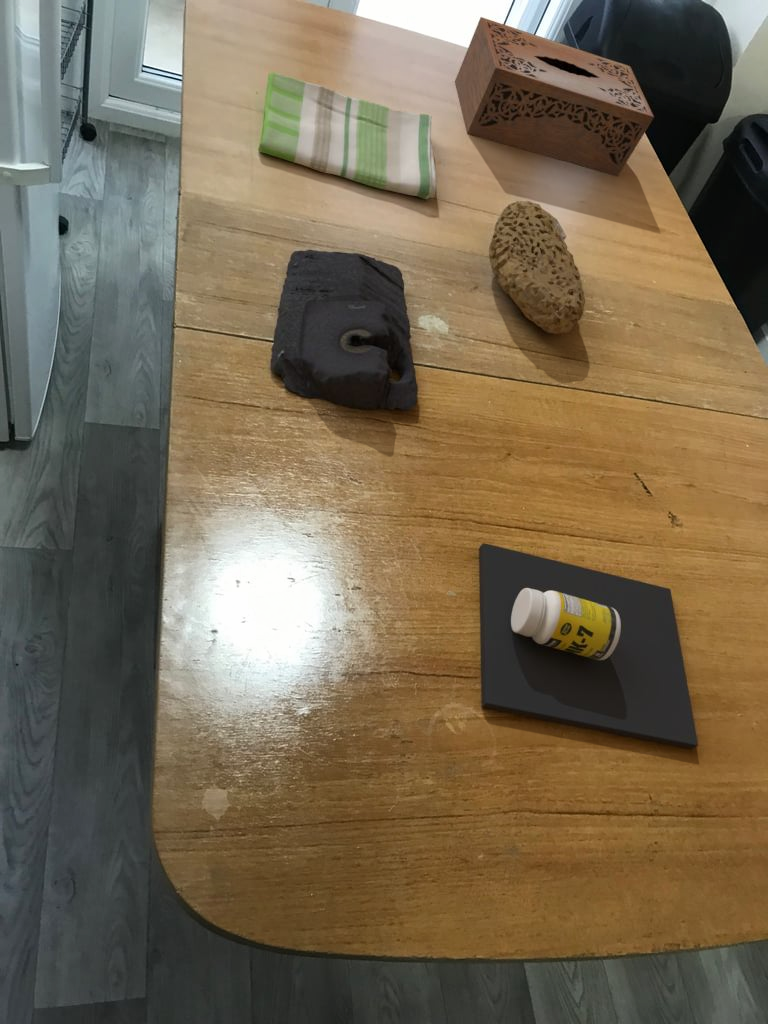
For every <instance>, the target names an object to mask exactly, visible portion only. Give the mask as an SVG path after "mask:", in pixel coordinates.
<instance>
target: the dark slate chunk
mask: <svg viewBox="0 0 768 1024" xmlns="http://www.w3.org/2000/svg"><path fill="white" fill-rule="evenodd" d="M289 259H290V260H289V262H288V263H287V265H286V266H287V267H286V277H285V278H284V283H283V285H282V291H281V294H280V299H279V306H278V308H277V313H278V314H277V319H276V325H275V328H274V333H273V343H272V345H271V348H270V349H271V356H270V357H271V358H270V366H269V367H270V370H271V371H272V372H273V373H274V374H275V375H277V376H279V377H281V378H282V381H283V384H284V388H285V389H286V390H287V391H288V392H291V393H296V394H297V395H299V396H301V397H306V398H308V399H313V398H318V399H323V400H325V401H329V402H331V403H332V404H337V405H340V406H342V407H347V408H353V409H359V410H364V411H372V410H375V409H378V408H379V409H381V410H383V409H384V410H388V409H391V410H395V408H398V409H400V410H407V411H412V410H413V409H414V407H415V406H416V405H417V403H418V391H419V387H418V382H417V377H416V369H415V363H414V359H413V354H412V350H411V342H410V340H411V338H412V334H411V324H410V323H411V322H410V319H409V316H408V312H407V311H408V306H407V304H406V295H405V282H404V278H403V273H402V271H401V270H400V268H398V266H395V265H393V264H391V263H387V262H385V261H384V260H383V261H382V260H377V259H376V258H375V257H371V256H368V255H366V254H361V253H359V252H342V251H327V250H314V249H306V250H302V249H301V250H295V251H293V252H292V253H291V254H290V257H289ZM392 372H396V374H397V375H398V377H399V381H396V380H392Z"/></svg>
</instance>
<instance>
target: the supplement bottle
mask: <svg viewBox="0 0 768 1024" xmlns="http://www.w3.org/2000/svg"><path fill="white" fill-rule="evenodd" d="M511 627H512V630H513V631H514V632H515V633H518V634H521V635H524V636H528V637H531V636H532V638H533V640H534V641H535V642H536V643H538V644H541V645H544V646H548V647H552V648H556V649H559V650H563V651H567V652H570V653H574V654H577V655H581V656H585V657H589V658H592V659H596V660H604V659H606V658H608V657H609V656H610V655H611V654H612V652H613V651H614V649H615V647H616V645H617V643H618V640H619V637H620V632H621V621H620V617H619V614H618V612H617V611H616V610H615V609H614V608H611V607H608V606H605V605H601V604H598V603H594V602H591V601H588V600H584V599H581V598H577V597H574V596H570V595H567V594H563V593H560V592H557V591H546V592H544V593H543V592H541V591H538V590H534V589H530V588H524V589H523V590H522V591H521V592H520V593H519V595H518V596H517V598H516V600H515V603H514V606H513V610H512V615H511Z"/></svg>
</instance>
